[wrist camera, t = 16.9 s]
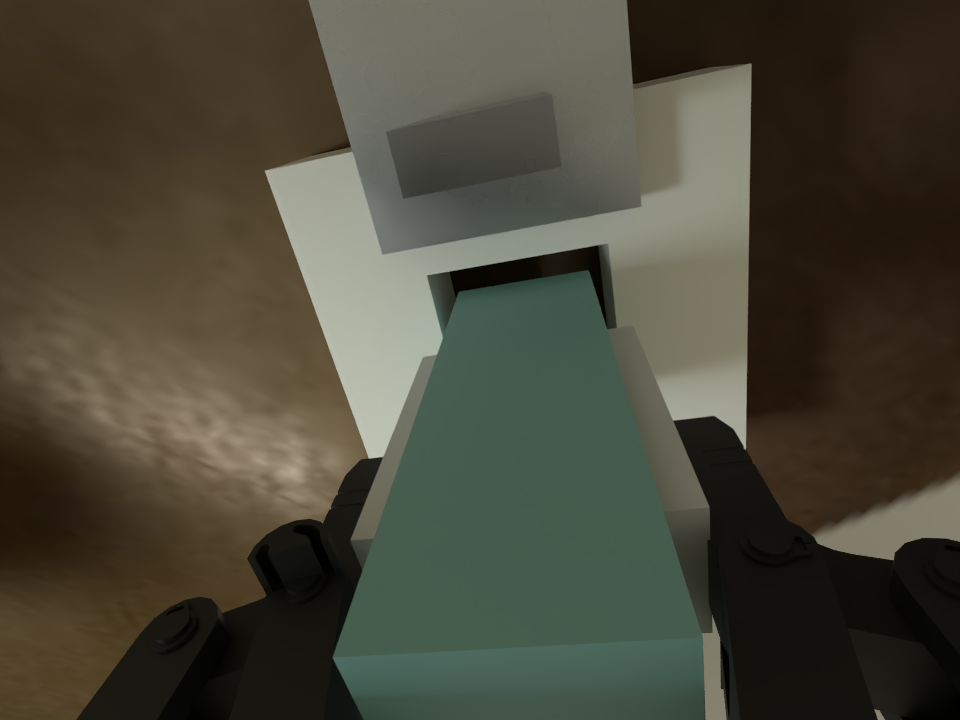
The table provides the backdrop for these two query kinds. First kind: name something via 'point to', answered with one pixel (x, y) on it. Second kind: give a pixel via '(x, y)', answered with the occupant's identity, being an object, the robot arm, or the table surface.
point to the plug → (524, 535)
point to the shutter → (483, 112)
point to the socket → (619, 235)
